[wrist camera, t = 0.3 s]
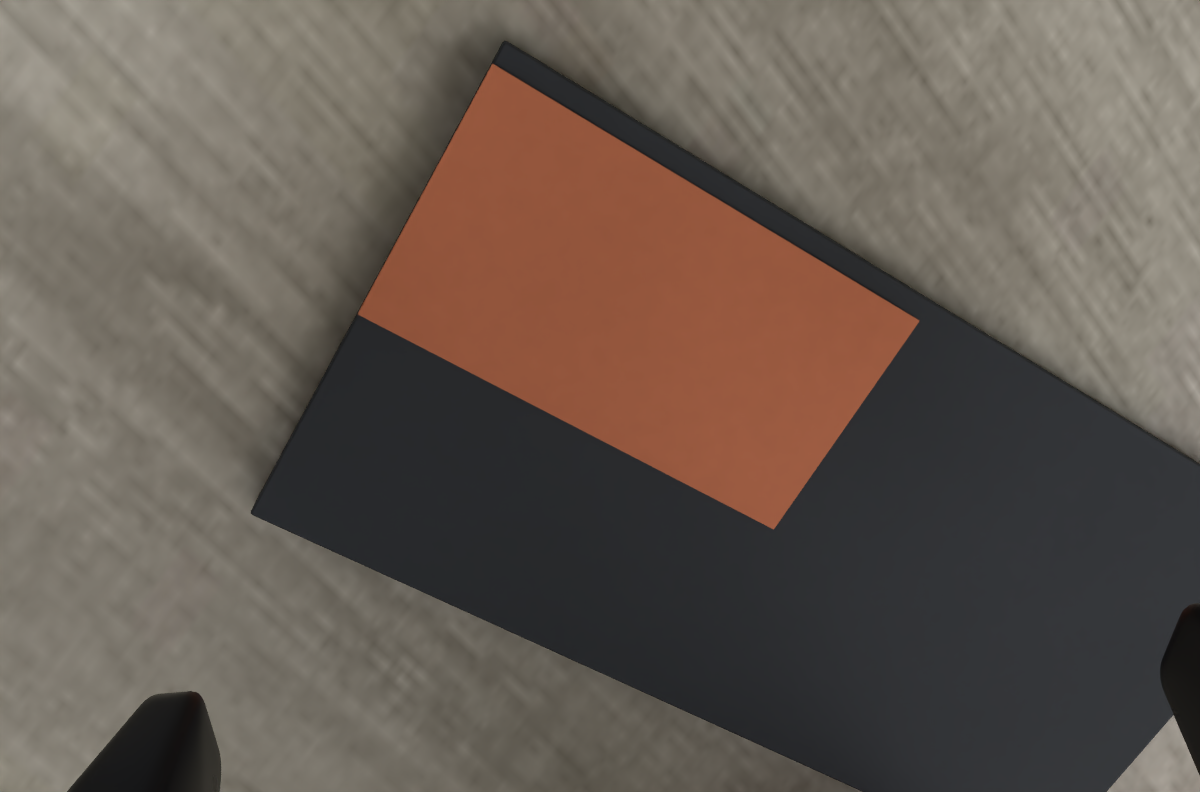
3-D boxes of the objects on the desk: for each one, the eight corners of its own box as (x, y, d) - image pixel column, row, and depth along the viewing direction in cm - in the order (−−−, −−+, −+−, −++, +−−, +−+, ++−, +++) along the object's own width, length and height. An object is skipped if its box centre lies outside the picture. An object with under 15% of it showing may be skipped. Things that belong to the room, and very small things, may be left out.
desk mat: (1028, 856, 31) (1039, 874, 31) (254, 503, 25) (248, 516, 25) (1309, 530, 28) (1328, 543, 28) (504, 39, 22) (504, 41, 22)
